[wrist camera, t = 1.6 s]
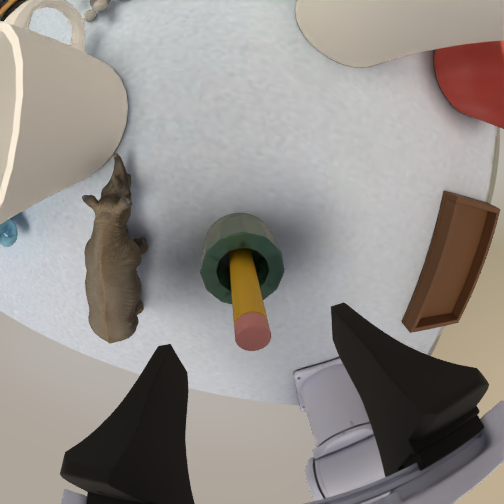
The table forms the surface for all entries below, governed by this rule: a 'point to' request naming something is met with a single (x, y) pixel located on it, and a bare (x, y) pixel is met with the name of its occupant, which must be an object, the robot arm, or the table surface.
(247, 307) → the pencil
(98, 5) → the molecular model
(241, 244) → the pencil pot
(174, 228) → the table surface
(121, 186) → the rhino figurine
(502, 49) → the flower pot
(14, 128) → the mug
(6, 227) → the teapot
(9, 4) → the board
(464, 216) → the tray
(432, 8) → the cup
